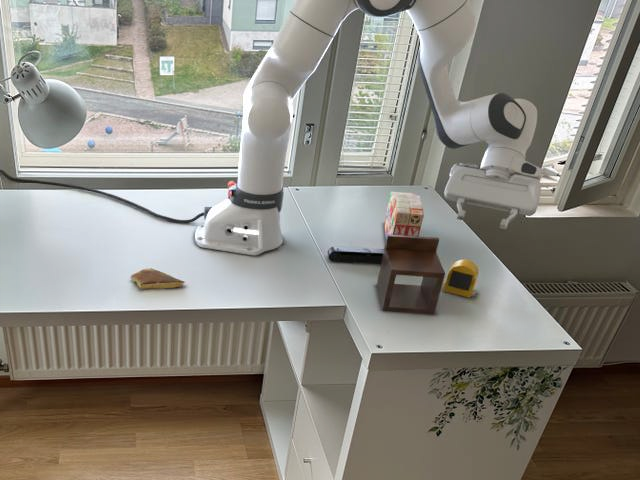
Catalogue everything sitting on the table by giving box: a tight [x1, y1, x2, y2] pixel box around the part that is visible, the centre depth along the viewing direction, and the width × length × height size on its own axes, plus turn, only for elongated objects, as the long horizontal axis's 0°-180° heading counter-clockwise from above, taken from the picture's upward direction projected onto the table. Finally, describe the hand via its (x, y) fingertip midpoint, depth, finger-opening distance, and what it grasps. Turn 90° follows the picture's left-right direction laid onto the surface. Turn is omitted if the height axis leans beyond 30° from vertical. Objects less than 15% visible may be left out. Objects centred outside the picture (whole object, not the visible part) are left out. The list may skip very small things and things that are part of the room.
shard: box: [129, 267, 186, 290], centre depth 157 cm, size 11×8×2 cm
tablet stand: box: [327, 246, 384, 265], centre depth 169 cm, size 18×3×3 cm, turn 86°
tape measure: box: [442, 259, 479, 299], centre depth 156 cm, size 7×4×7 cm, turn 60°
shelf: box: [376, 234, 446, 315], centre depth 150 cm, size 11×11×13 cm
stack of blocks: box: [384, 191, 425, 240], centre depth 176 cm, size 21×6×12 cm, turn 168°
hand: (481, 223), depth 158 cm, fingers open, 8 cm apart
